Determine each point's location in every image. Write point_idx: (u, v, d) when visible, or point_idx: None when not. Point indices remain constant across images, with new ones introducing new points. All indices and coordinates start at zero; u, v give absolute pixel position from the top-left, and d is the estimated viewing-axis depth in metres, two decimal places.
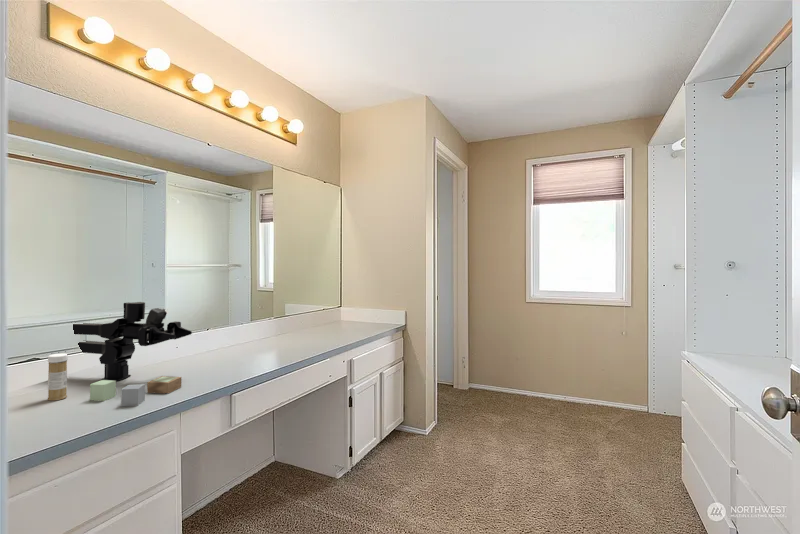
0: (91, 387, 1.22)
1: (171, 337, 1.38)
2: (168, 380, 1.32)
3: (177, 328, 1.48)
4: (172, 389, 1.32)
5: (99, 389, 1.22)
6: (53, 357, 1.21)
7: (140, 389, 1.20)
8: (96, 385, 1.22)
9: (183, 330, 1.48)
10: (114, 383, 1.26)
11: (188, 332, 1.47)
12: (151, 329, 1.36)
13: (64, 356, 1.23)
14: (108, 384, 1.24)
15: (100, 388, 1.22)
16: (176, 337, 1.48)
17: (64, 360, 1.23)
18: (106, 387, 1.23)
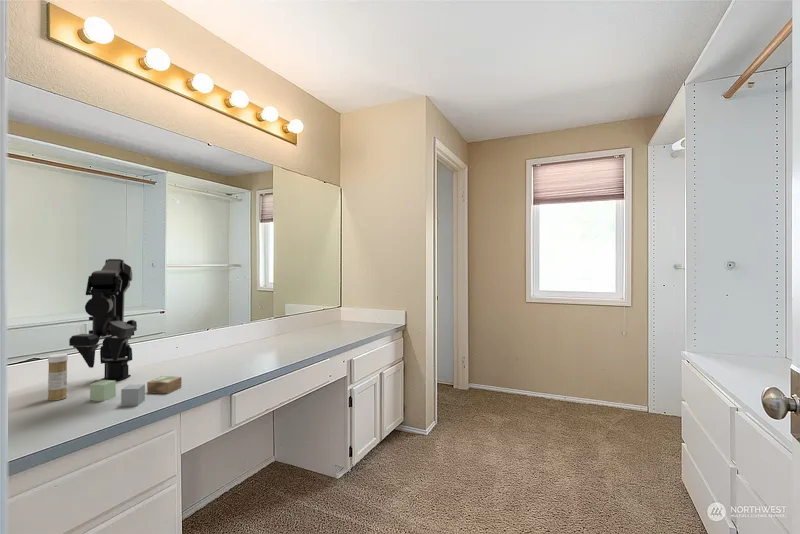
0: (91, 387, 1.22)
1: (88, 364, 1.20)
2: (168, 380, 1.32)
3: (119, 342, 1.29)
4: (172, 389, 1.32)
5: (99, 389, 1.22)
6: (53, 357, 1.21)
7: (140, 389, 1.20)
8: (96, 385, 1.22)
9: (117, 350, 1.29)
10: (114, 383, 1.26)
11: (114, 357, 1.29)
12: (90, 347, 1.17)
13: (64, 356, 1.23)
14: (108, 384, 1.24)
15: (100, 388, 1.22)
16: (109, 341, 1.30)
17: (64, 360, 1.23)
18: (106, 387, 1.23)
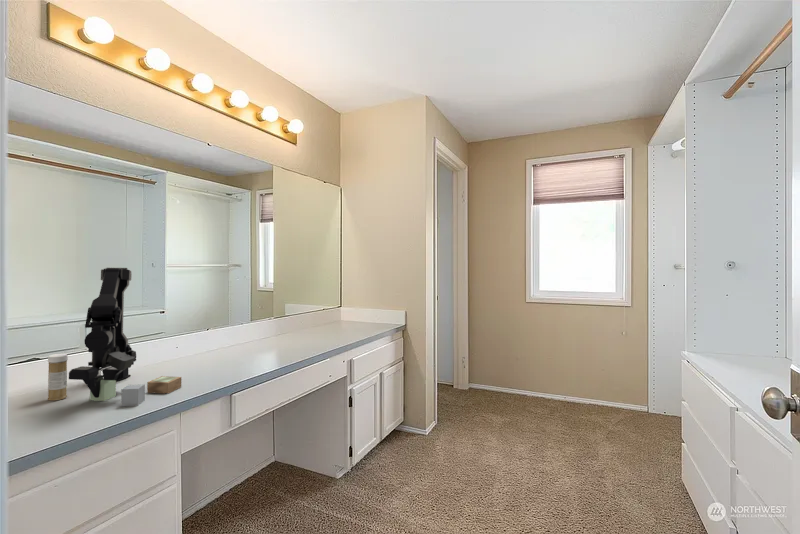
0: None
1: (94, 394, 1.22)
2: (168, 380, 1.32)
3: (114, 374, 1.27)
4: (172, 389, 1.32)
5: None
6: (53, 357, 1.21)
7: (140, 389, 1.20)
8: None
9: None
10: (114, 383, 1.26)
11: None
12: (96, 379, 1.19)
13: (64, 356, 1.23)
14: (108, 384, 1.24)
15: (100, 388, 1.22)
16: (104, 373, 1.27)
17: (64, 360, 1.23)
18: (106, 387, 1.23)
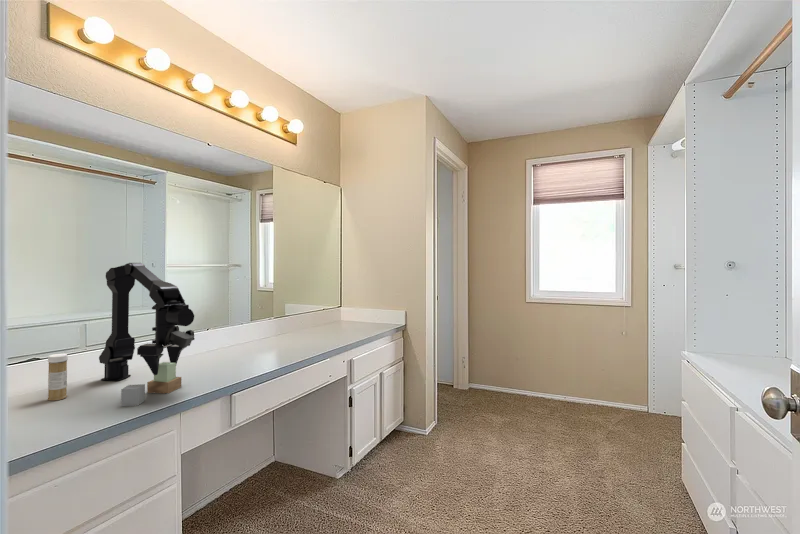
0: None
1: (153, 372, 1.29)
2: None
3: (177, 350, 1.38)
4: (172, 389, 1.32)
5: (162, 370, 1.31)
6: (53, 357, 1.21)
7: (140, 389, 1.20)
8: (159, 366, 1.31)
9: (175, 358, 1.38)
10: (175, 365, 1.35)
11: None
12: (156, 356, 1.26)
13: (64, 356, 1.23)
14: (170, 365, 1.33)
15: (163, 369, 1.31)
16: (168, 349, 1.39)
17: (64, 360, 1.23)
18: (168, 368, 1.32)
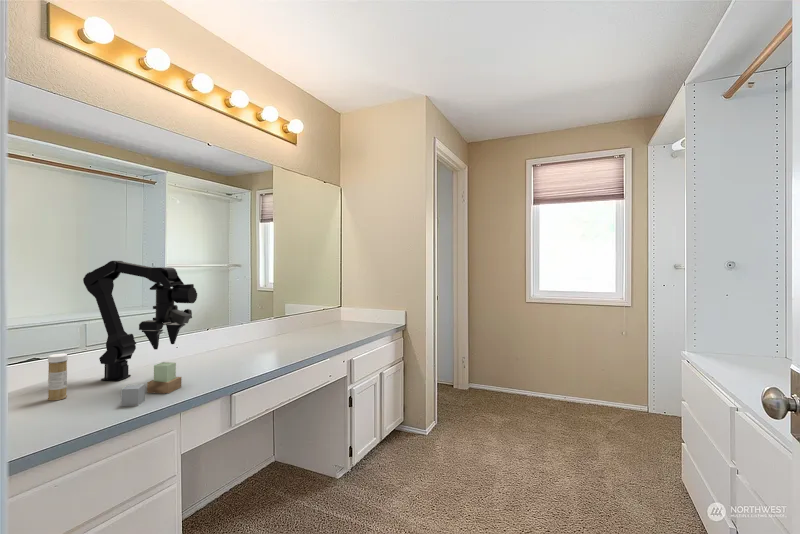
0: (155, 368, 1.31)
1: (154, 346, 1.39)
2: None
3: (176, 328, 1.49)
4: (172, 389, 1.32)
5: (162, 370, 1.31)
6: (53, 357, 1.21)
7: (140, 389, 1.20)
8: (159, 366, 1.31)
9: (174, 335, 1.49)
10: (175, 365, 1.35)
11: (172, 341, 1.48)
12: (156, 332, 1.36)
13: (64, 356, 1.23)
14: (170, 365, 1.33)
15: (163, 369, 1.31)
16: (167, 327, 1.49)
17: (64, 360, 1.23)
18: (168, 368, 1.32)
